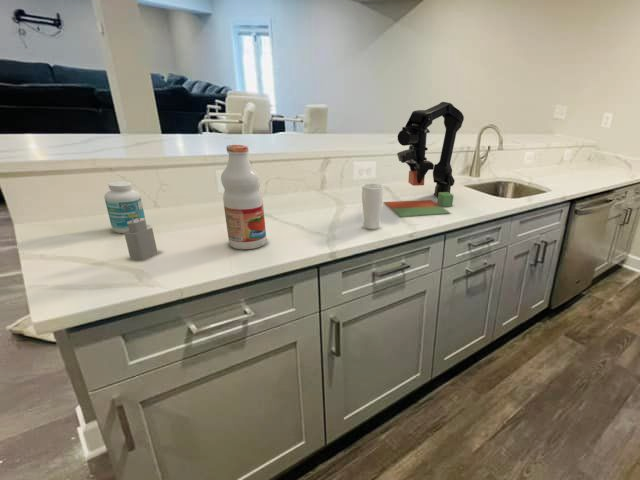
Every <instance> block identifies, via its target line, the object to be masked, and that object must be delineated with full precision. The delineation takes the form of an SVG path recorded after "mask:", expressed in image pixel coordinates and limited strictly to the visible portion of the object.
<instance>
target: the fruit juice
mask: <svg viewBox="0 0 640 480" xmlns="http://www.w3.org/2000/svg"><path fill="white" fill-rule="evenodd" d="M225 149H226V153H227V154H228V161H227V165H226V167H225V169H224V170H223V171H222V172H221V175H220V182H221V185H222V187H223V189H224V192H223V194H222V200H223V201H222V202H223V209H224V215H225V216H224V217H225V223H226V224H225V225H226V231H227V232H226V233H227V239H228V244H229V246H230V247H231V248H233V249H236V250H252V249H258V248H260V247H264V245H265V244H266V242H267V230H266V220H265V211H264V210H265V209H264V199H263V195H262V192H261V190H260V187H261V186H260V185H261V177H260V174H259V173H258V172H257V171H256V169H254V167H253V165H252V163H251V162H250V159H249V156H248V154H249V147H248V146H247V145H243V144H229V145H226V148H225Z"/></svg>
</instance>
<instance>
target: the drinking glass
mask: <svg viewBox="0 0 640 480" xmlns="http://www.w3.org/2000/svg"><path fill="white" fill-rule="evenodd" d="M361 204H362V205H361V206H362V217H363V227H364V228H365V229H367V230H377V229H379V228H380V219H381V212H382V204H383V185H380V184H377V183H364V184H362V185H361Z"/></svg>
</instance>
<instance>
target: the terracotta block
mask: <svg viewBox="0 0 640 480" xmlns="http://www.w3.org/2000/svg"><path fill="white" fill-rule="evenodd" d="M425 177H426V175H425V176H424V178H423V180H422V181H421V183H418V181H417V171H410V170H409V171H408V181H407V182H408V184H410V185H411V186H413V187H414V186H415V187H417V186H425Z"/></svg>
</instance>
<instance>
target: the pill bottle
mask: <svg viewBox="0 0 640 480" xmlns="http://www.w3.org/2000/svg"><path fill="white" fill-rule="evenodd" d="M107 185H108V189H109V191H106V193H105V194H104V201H105V205H106V211H107V214H108V219H109V222H110V226H111V230H112V231H113V232H115V233H119V234H124V232H126V231H128V230H129V228H128V224H127V222H128V221H131V215H130V213H132V217H133V220H134V219H137V218H138V214H137V210H138V212H139V216H140V218H145V221H146V220H147V219H146V217H145V211H144V205H143V202H142V197H141V194H140V192H138V191H137V190H135V189H133V186H132V183H131V182H130V181H112V182H109V183H108V184H107ZM146 222H147V221H146Z"/></svg>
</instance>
